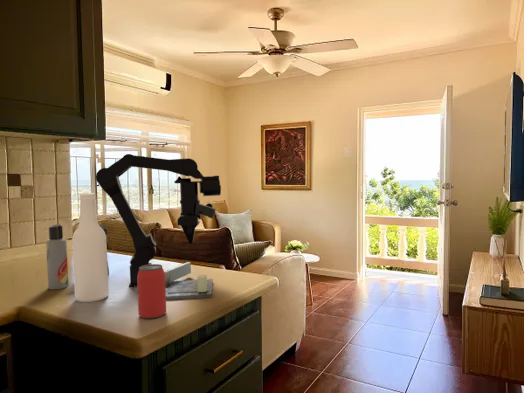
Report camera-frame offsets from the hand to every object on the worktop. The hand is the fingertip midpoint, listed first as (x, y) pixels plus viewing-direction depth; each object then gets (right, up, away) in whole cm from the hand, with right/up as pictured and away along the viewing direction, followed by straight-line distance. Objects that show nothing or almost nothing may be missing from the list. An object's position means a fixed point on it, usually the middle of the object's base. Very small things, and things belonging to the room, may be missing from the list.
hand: (191, 243), depth 125 cm
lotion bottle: (-41, -14, -5) cm, 44 cm away
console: (+1, -13, -13) cm, 18 cm away
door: (-4, -11, -3) cm, 12 cm away
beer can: (-3, -14, -32) cm, 35 cm away
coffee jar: (-34, -13, +5) cm, 37 cm away
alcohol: (-25, -14, -18) cm, 33 cm away
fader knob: (+7, -11, -17) cm, 22 cm away
